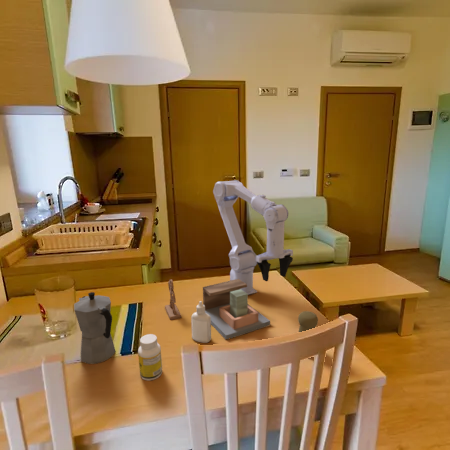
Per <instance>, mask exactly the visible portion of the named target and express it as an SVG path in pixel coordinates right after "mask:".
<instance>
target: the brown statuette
mask: <svg viewBox="0 0 450 450" xmlns="http://www.w3.org/2000/svg"><path fill="white" fill-rule="evenodd" d="M167 285H168V291H169V295H170V299H169V304H166V305H164V310H165V312H166V314H167V316H168V319H169V320H170V321H172V320H177V319H181V318H182V314H181V312H180V311H179V308H178V307H177V305H176V295H175V294H176V293H175V292H174V290H175V289H174V287H175V286H174V281H173V279H169V280H168V282H167Z"/></svg>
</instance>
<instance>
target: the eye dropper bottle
mask: <svg viewBox="0 0 450 450" xmlns="http://www.w3.org/2000/svg"><path fill="white" fill-rule="evenodd" d="M195 309H196V311H194V312H193V313H192V315H191V316H190V317H191V323H190V324H191V339H193V341H195V342H197V343H203V344H207V343H209V342H210V341H211V340H212V325H211V317H210V316H209V315H208V314H207V313H205V305H203V300H200V301H198V304H197V305H196V308H195Z"/></svg>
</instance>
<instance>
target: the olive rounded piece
mask: <svg viewBox="0 0 450 450" xmlns="http://www.w3.org/2000/svg"><path fill="white" fill-rule="evenodd" d="M297 321H298V324H299V326H298V327H299V328H298V332H302V331H306V330H309V329H312V328H315V327H316V328H317V326H318V324H319V318H318V316H317V314H316V313H314V312H312V311H310V310H306V311H301V312H300V313H299V314H298V317H297Z"/></svg>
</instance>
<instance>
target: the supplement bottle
mask: <svg viewBox="0 0 450 450" xmlns="http://www.w3.org/2000/svg"><path fill="white" fill-rule="evenodd" d="M137 356H138V357H137V358H138V367H139V375H140V378H141V379H142V380H145V381H155V380H157V379H159V377H161V375H162V373H163V363H162V361H163V360H162V348H161V344H159V342H158V337H157V335H156V334H153V333H147V334H144V335H143V336H141V337H140V339H139V347H138V350H137Z"/></svg>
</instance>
